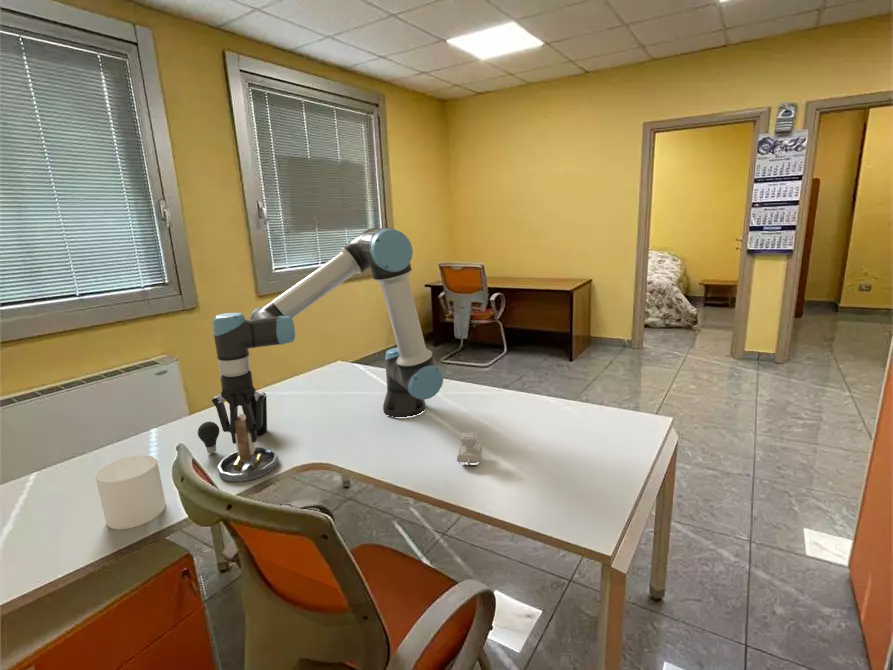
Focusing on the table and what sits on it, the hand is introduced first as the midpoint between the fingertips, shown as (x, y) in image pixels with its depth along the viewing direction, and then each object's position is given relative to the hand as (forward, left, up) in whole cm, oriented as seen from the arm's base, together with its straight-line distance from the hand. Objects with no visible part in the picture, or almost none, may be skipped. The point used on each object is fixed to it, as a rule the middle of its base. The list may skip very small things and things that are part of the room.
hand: (246, 452), depth 125 cm
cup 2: (+3, -22, -5) cm, 23 cm away
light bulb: (+13, -10, -5) cm, 17 cm away
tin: (0, 0, -5) cm, 5 cm away
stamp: (-61, +8, -5) cm, 62 cm away
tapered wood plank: (0, 0, -2) cm, 2 cm away
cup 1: (+21, +17, -5) cm, 27 cm away
